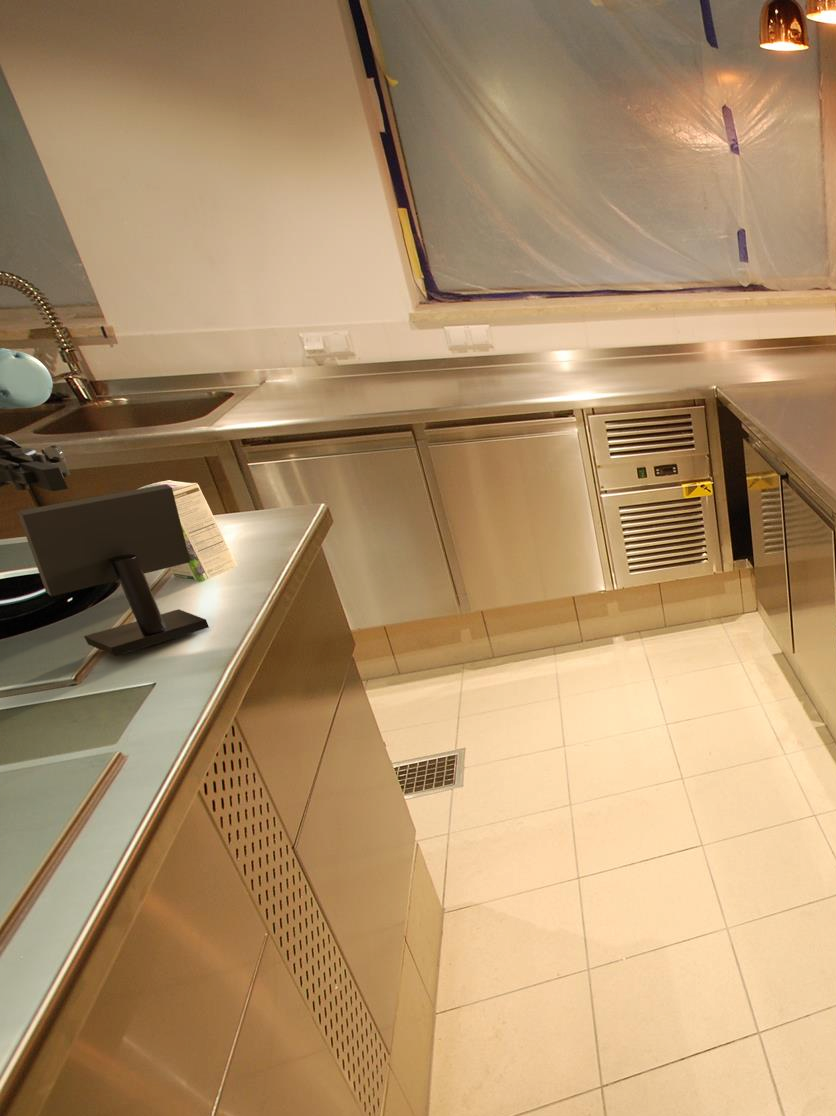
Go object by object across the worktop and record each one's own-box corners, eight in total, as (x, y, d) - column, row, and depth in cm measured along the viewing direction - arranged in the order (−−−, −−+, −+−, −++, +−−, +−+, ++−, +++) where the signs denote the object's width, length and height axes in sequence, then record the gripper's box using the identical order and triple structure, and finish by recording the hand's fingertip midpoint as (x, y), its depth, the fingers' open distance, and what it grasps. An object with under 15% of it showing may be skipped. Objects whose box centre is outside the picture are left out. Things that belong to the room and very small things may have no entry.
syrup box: (175, 583, 126) (125, 492, 118) (213, 566, 131) (168, 477, 123) (205, 587, 125) (156, 495, 117) (242, 570, 130) (198, 481, 122)
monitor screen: (51, 596, 100) (22, 515, 95) (45, 592, 101) (16, 510, 95) (190, 562, 112) (172, 487, 106) (184, 558, 112) (166, 483, 106)
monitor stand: (114, 656, 104) (76, 571, 99) (87, 644, 107) (49, 561, 102) (209, 627, 112) (178, 548, 107) (182, 617, 115) (150, 539, 110)
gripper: (52, 473, 120) (133, 497, 111) (-80, 494, 110) (-4, 521, 100) (29, 420, 117) (110, 440, 108) (-110, 436, 107) (-33, 459, 97)
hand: (55, 479), depth 104 cm, fingers closed
